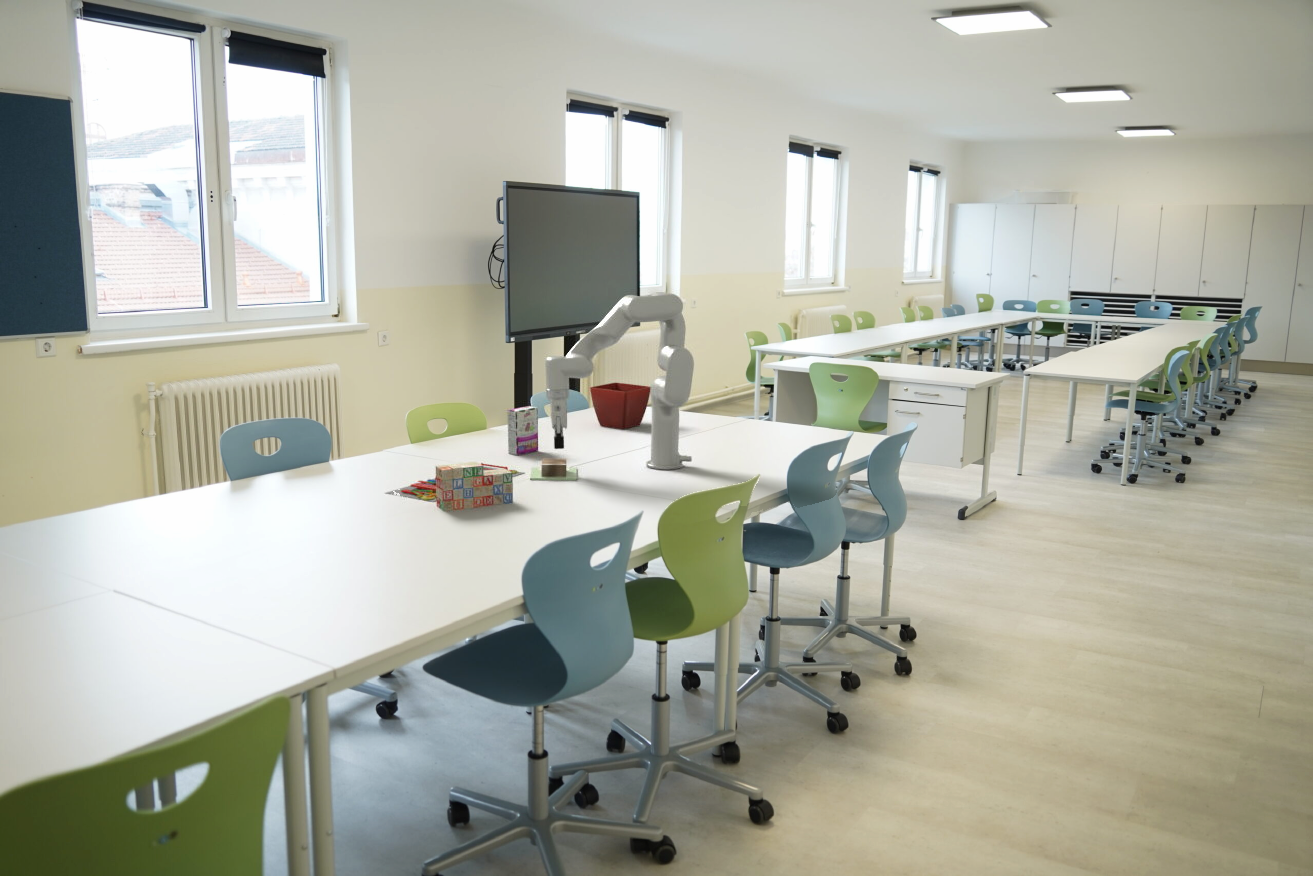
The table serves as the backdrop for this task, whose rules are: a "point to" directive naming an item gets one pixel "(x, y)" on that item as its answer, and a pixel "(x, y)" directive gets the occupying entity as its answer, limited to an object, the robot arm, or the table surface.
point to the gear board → (434, 487)
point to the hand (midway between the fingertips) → (559, 448)
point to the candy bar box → (522, 430)
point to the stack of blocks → (472, 486)
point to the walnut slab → (553, 467)
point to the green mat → (570, 475)
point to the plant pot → (620, 404)
